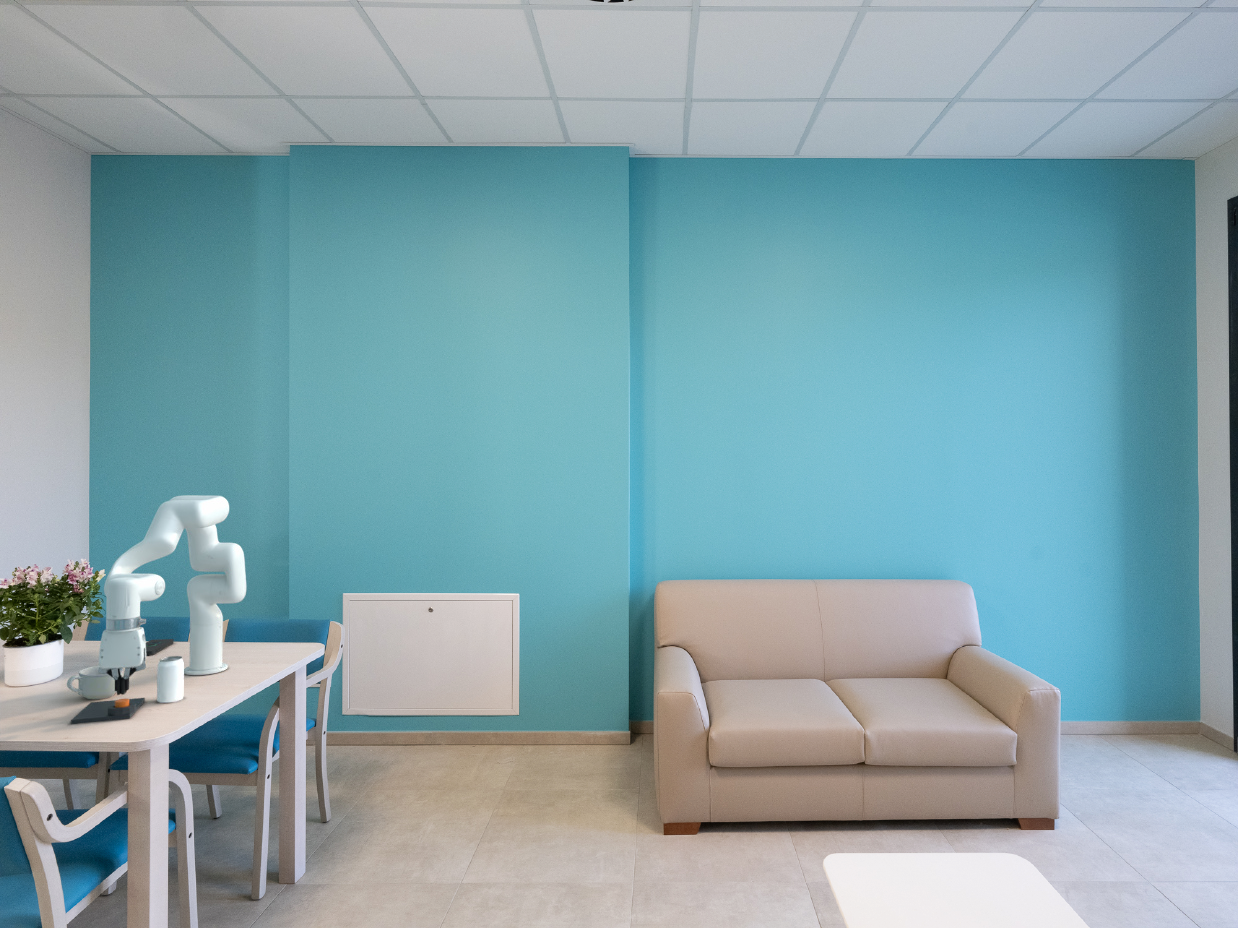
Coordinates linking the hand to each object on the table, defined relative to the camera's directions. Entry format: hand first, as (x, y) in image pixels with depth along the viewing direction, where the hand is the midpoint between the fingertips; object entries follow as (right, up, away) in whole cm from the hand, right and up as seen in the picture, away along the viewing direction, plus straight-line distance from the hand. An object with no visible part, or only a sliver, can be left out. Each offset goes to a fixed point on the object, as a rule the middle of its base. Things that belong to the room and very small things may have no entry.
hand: (121, 693), depth 199 cm
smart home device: (-40, -8, +76) cm, 86 cm away
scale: (-5, -6, +3) cm, 9 cm away
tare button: (0, -4, 0) cm, 4 cm away
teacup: (-19, -7, +16) cm, 26 cm away
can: (+4, -7, +14) cm, 16 cm away
